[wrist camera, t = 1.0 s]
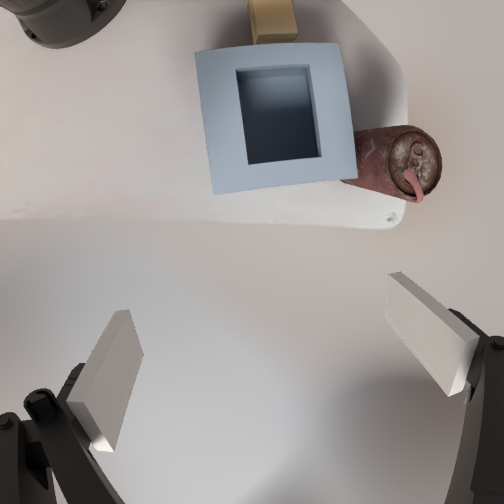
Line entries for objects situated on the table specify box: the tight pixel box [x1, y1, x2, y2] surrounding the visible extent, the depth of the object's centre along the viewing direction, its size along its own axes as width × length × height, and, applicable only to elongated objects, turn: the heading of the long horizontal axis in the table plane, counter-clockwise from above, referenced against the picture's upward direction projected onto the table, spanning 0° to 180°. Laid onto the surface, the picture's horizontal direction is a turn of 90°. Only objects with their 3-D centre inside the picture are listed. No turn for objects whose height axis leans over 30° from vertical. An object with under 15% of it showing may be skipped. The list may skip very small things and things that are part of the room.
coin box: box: [195, 43, 358, 195], centre depth 28 cm, size 12×12×10 cm
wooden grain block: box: [247, 0, 298, 45], centre depth 27 cm, size 6×4×5 cm, turn 7°
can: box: [340, 125, 442, 203], centre depth 28 cm, size 6×6×14 cm
